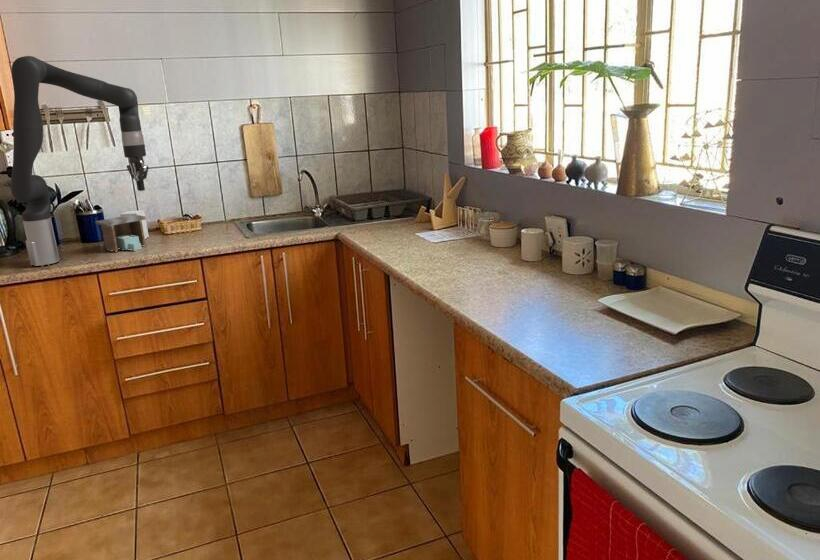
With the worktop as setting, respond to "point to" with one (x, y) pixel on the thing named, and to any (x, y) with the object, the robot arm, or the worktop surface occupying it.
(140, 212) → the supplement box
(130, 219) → the shelf
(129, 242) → the caddy
